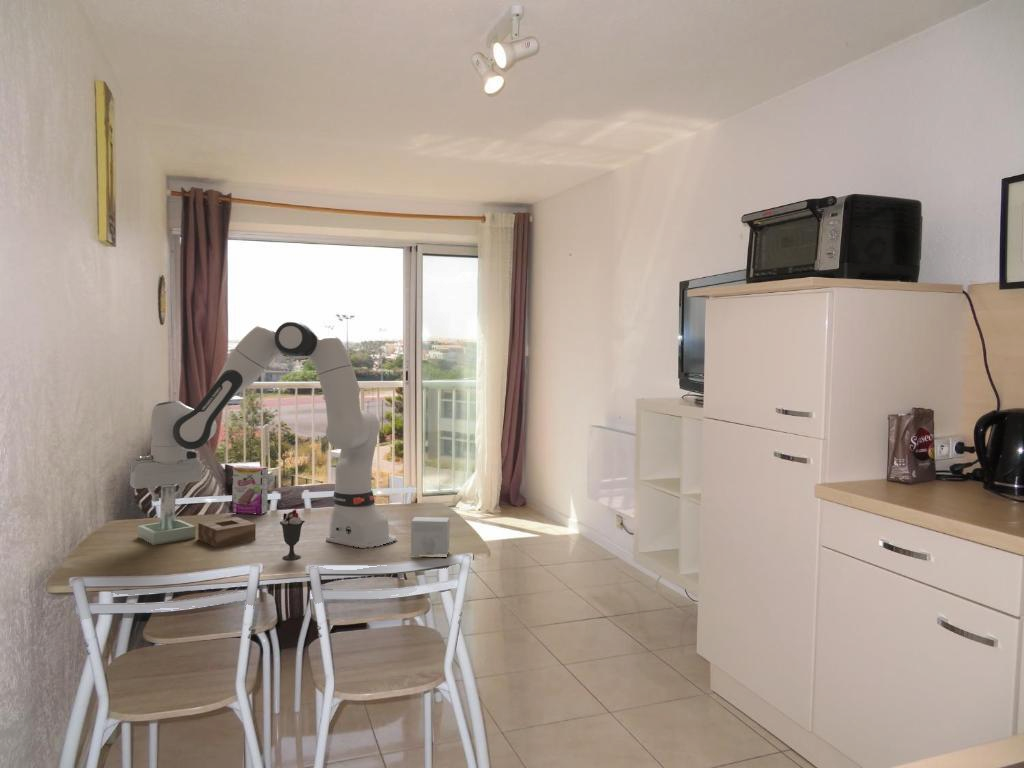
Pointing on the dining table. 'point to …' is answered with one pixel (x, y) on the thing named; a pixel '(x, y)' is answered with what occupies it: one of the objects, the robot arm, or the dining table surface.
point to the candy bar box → (249, 489)
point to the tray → (166, 532)
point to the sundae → (291, 532)
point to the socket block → (226, 531)
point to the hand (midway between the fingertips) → (167, 499)
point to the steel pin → (167, 507)
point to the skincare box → (429, 535)
